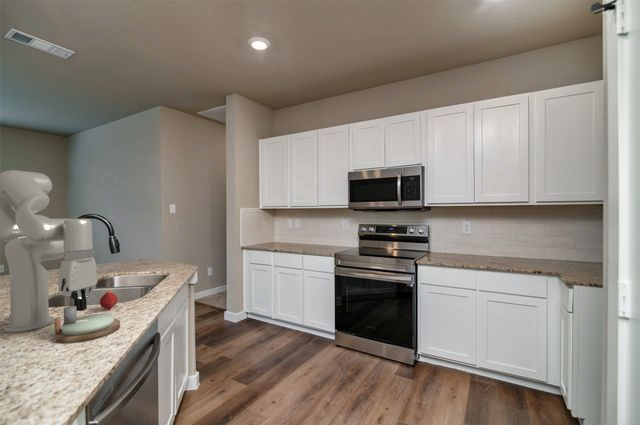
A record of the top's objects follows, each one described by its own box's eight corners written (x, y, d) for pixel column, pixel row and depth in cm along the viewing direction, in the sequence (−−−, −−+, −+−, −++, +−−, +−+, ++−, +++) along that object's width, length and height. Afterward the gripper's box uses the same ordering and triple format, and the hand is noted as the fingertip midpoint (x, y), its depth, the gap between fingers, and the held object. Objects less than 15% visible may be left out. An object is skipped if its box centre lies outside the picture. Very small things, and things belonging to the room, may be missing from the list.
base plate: (39, 342, 91) (39, 321, 91) (89, 321, 108) (88, 303, 108) (89, 344, 89) (89, 322, 89) (132, 323, 106) (131, 304, 106)
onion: (108, 312, 117) (107, 292, 117) (96, 312, 118) (95, 292, 118) (120, 308, 123) (120, 288, 123) (109, 307, 124) (108, 288, 124)
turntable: (118, 316, 107) (118, 297, 107) (107, 330, 95) (107, 308, 95) (72, 322, 102) (71, 302, 102) (53, 338, 90) (53, 314, 90)
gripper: (90, 252, 108) (92, 302, 108) (45, 259, 93) (47, 317, 93) (108, 252, 107) (109, 303, 107) (65, 259, 92) (67, 318, 92)
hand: (80, 309), depth 100 cm, fingers closed
